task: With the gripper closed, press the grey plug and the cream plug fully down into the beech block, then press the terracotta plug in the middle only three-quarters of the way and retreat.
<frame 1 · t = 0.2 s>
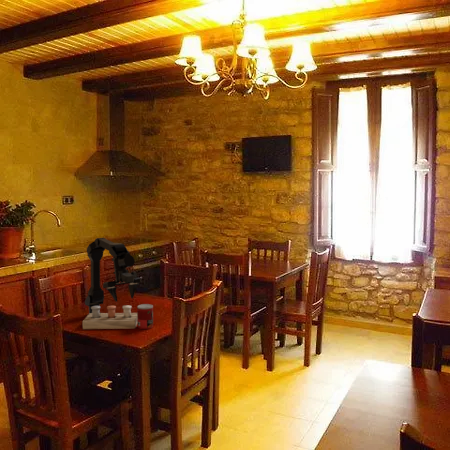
hand: (124, 299, 225), 15 cm above the table, tool pointing down, fingers open, 9 cm apart
canned food: (145, 327, 231), on the table
beech block: (111, 324, 235), on the table
cream plug: (127, 312, 235), point 6 cm above the table, slide at 0.0 cm
grey plug: (95, 312, 234), point 6 cm above the table, slide at 0.0 cm
terracotta plug: (111, 312, 234), point 6 cm above the table, slide at 0.0 cm
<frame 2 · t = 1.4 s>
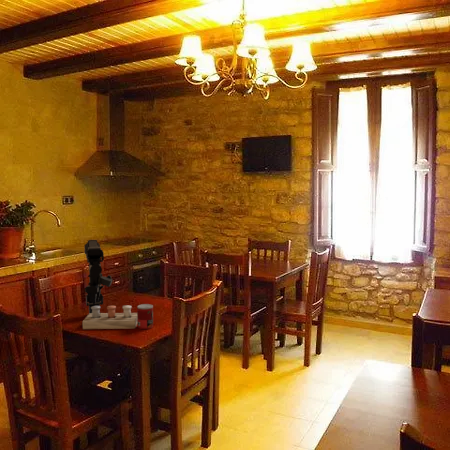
hand: (95, 302, 233), 12 cm above the table, tool pointing down, fingers open, 7 cm apart
nothing on the table moved.
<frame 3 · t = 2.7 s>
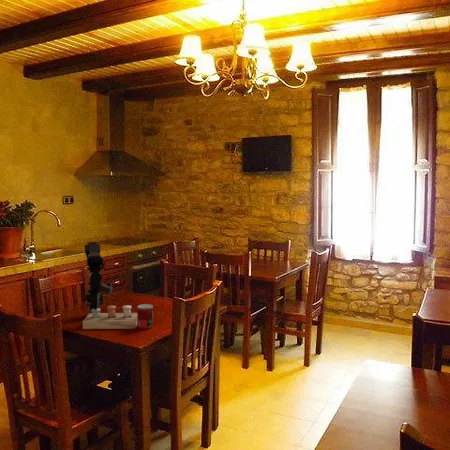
hand: (95, 309, 234), 8 cm above the table, tool pointing down, fingers closed, pressing on grey plug
grey plug: (95, 314, 234), point 5 cm above the table, slide at 1.3 cm, touching gripper
everything else where it was.
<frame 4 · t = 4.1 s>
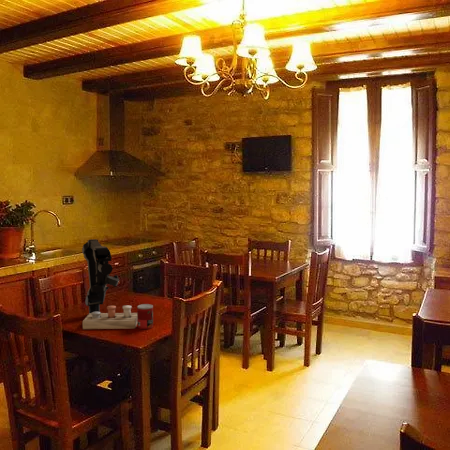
hand: (102, 301, 233), 12 cm above the table, tool pointing down, fingers closed
grey plug: (96, 318, 234), point 3 cm above the table, slide at 3.1 cm
everything else where it was.
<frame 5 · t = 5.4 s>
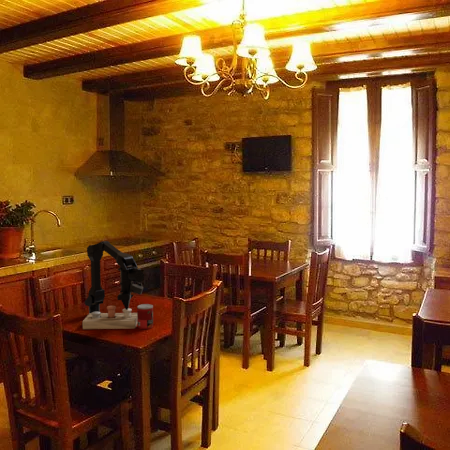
hand: (126, 309, 234), 8 cm above the table, tool pointing down, fingers closed, pressing on cream plug
cream plug: (127, 315, 235), point 5 cm above the table, slide at 1.6 cm, touching gripper
everything else where it was.
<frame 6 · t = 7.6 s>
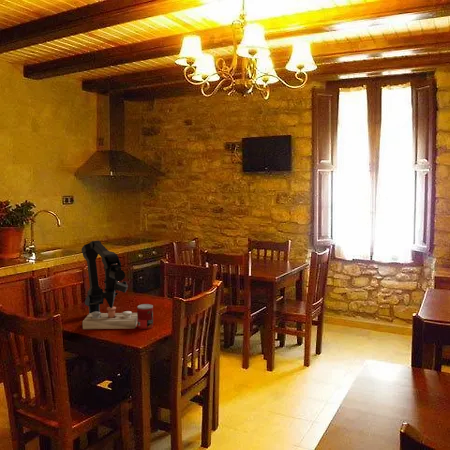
hand: (111, 307, 234), 9 cm above the table, tool pointing down, fingers closed, pressing on terracotta plug
cream plug: (127, 317, 235), point 3 cm above the table, slide at 3.0 cm
terracotta plug: (111, 313, 234), point 6 cm above the table, slide at 0.5 cm, touching gripper
everything else where it was.
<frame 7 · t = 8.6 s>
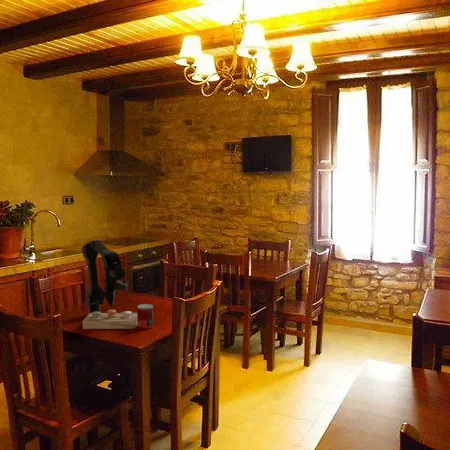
hand: (111, 306, 234), 10 cm above the table, tool pointing down, fingers closed
terracotta plug: (111, 316, 234), point 4 cm above the table, slide at 2.2 cm
everything else where it was.
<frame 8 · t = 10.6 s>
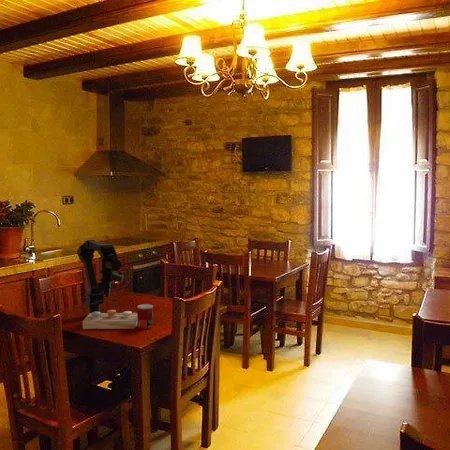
hand: (107, 297, 238), 13 cm above the table, tool pointing down, fingers closed
nothing on the table moved.
at the end: grey plug slide at 3.1 cm; cream plug slide at 3.0 cm; terracotta plug slide at 2.2 cm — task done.
